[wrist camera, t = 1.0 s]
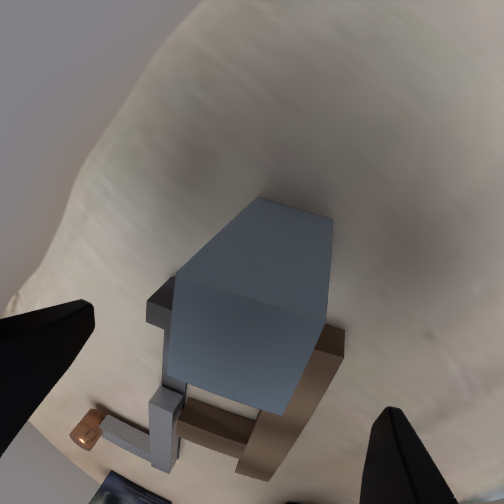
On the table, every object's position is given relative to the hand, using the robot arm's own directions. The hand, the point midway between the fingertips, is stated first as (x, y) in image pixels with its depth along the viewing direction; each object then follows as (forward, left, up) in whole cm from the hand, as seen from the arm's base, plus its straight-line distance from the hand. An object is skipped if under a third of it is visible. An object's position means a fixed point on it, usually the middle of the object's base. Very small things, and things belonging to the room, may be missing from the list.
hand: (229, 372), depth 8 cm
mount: (-15, +1, -10) cm, 18 cm away
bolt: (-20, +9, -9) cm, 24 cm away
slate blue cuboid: (0, 0, -10) cm, 10 cm away
